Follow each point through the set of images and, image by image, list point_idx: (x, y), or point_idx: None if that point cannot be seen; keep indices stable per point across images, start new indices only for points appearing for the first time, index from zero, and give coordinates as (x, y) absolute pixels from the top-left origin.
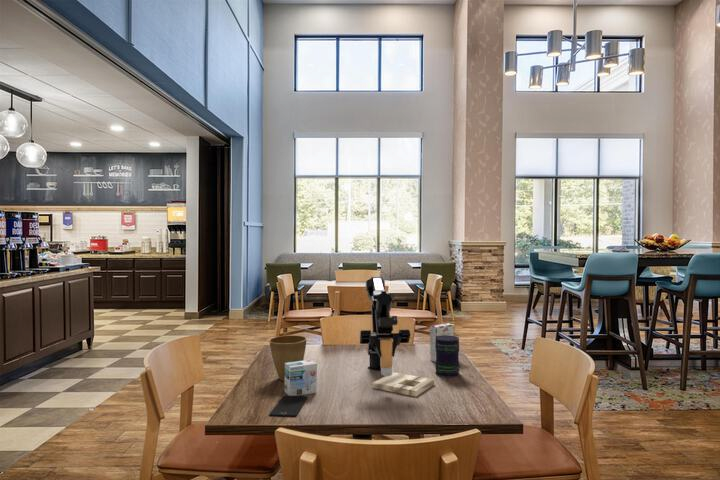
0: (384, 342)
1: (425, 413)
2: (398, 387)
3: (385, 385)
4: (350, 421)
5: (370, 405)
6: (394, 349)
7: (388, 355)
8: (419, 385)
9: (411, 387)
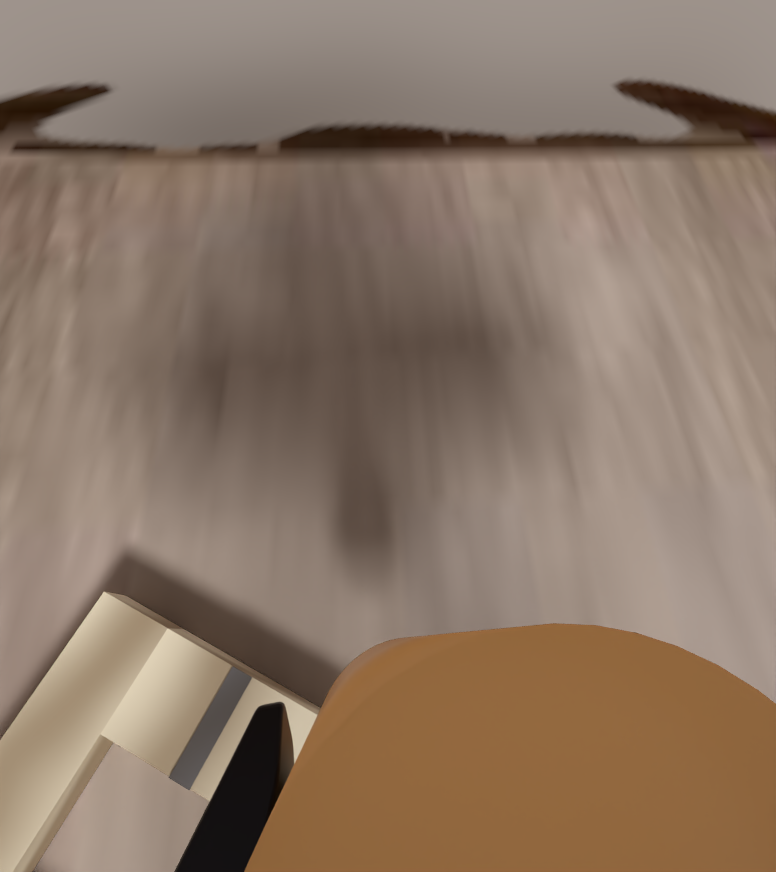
0: (618, 636)
1: (127, 279)
2: (266, 691)
3: None
4: (554, 179)
5: (485, 388)
6: (206, 856)
7: (389, 646)
8: (20, 789)
9: (128, 703)
